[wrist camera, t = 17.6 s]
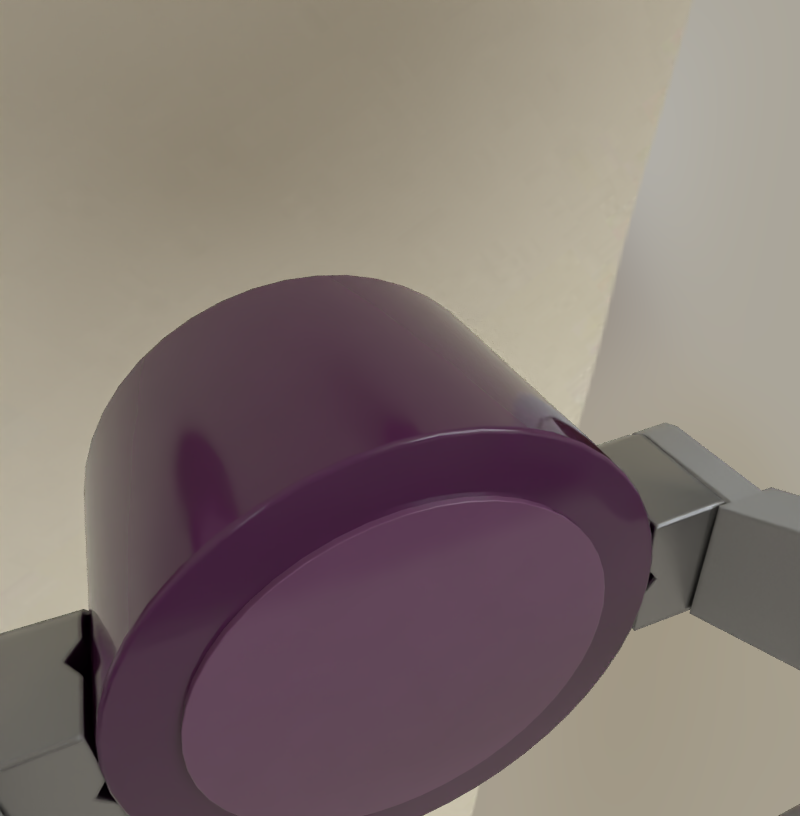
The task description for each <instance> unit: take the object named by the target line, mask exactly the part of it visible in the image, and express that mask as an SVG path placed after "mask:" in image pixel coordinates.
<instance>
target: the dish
mask: <svg viewBox="0 0 800 816" xmlns="http://www.w3.org/2000/svg"><path fill="white" fill-rule="evenodd" d="M84 511H85V535H86V558H87V582H88V606H89V629H90V653H91V677H92V700H93V724H94V741H95V748H96V755H97V760H98V763H99V768H100V771H101V773H102V776H103V778H104V780H105V784H106V787H107V789H108V791H109V792H110V794H111V795H112V796H113V798H114V799H115V801H116V802H117V803H118V805H119V806H120V807H121V809H122V810H123V812H124V813H125V814H126V815H127V816H423V815H425V814H427V813H429V812H431V811H433V810H435V809H437V808H439V807H441V806H443V805H445V804H447V803H449V802H451V801H453V800H454V799H456V798H458V797H460V796H461V795H463V794H465V793H467V792H468V791H470V790H472V789H474V788H475V787H477V786H479V785H480V784H482V783H483V782H484V781H486V780H488V779H489V778H491V777H492V776H494V775H495V774H497V773H499V772H500V771H501V770H503V769H504V768H506V767H507V766H508V765H509V764H511V763H512V762H514V761H515V760H516V759H518V758H519V757H520V756H522V755H523V754H525V753H526V752H527V751H528V750H529V749H531V748H532V747H533V746H534V745H535V744H536V743H538V742H539V741H540V740H541V739H542V738H544V737H545V736H546V735H547V734H548V733H549V732H550V731H552V730H553V728H555V727H556V726H557V725H558V724H559V723H560V722H561V721H562V720H563V719H564V718H565V717H566V716H567V715H568V714H569V713H570V712H571V711H572V710H573V709H574V708H575V707H576V706H577V704H579V702H580V701H581V700H582V699H583V698H584V697H585V696H586V695H587V694H588V693H589V691H590V690H591V689H592V688H593V686H594V685H595V684H596V683H597V681H598V680H599V679H600V677H601V676H602V675H603V674H604V672H605V671H606V670H607V668H608V667H609V665H610V664H611V662H612V661H613V659H614V657H615V656H616V655H617V653H618V652H619V650H620V648H621V647H622V645H623V643H624V641H625V640H626V638H627V636H628V634H629V632H630V630H631V629H632V627H633V624H634V622H635V620H636V617H637V615H638V613H639V610H640V608H641V606H642V603H643V599H644V596H645V593H646V589H647V586H648V582H649V577H650V570H651V564H652V532H651V527H650V522H649V517H648V513H647V510H646V508H645V506H644V503H643V501H642V499H641V496H640V494H639V492H638V489H637V488H636V487H635V485H634V484H633V483H632V481H631V480H630V478H629V477H628V476H627V474H626V473H625V471H624V470H623V469H621V468H620V467H619V466H618V465H617V464H616V463H615V462H614V461H613V460H612V459H611V458H609V457H608V456H607V455H606V454H605V453H604V452H603V451H602V450H601V449H600V448H599V447H597V446H596V445H595V444H594V443H593V442H592V441H591V440H590V439H589V438H588V437H587V436H586V435H584V434H583V433H582V432H581V431H580V430H579V429H578V428H577V427H576V426H575V425H574V424H572V423H571V422H570V421H569V420H568V419H567V418H566V417H565V416H564V415H563V414H562V413H560V412H559V411H558V410H557V409H556V408H555V407H554V406H553V405H552V404H551V403H550V402H548V401H547V400H546V399H545V398H544V397H543V396H542V395H541V394H540V393H539V392H538V391H537V390H535V389H534V388H533V387H532V386H531V385H530V384H529V383H528V382H527V381H526V380H525V379H523V378H522V377H521V376H520V375H519V374H518V373H517V372H516V371H515V370H514V369H513V368H511V367H510V366H509V365H508V364H507V363H506V362H505V361H504V360H503V359H502V358H501V357H500V356H498V355H497V354H496V353H495V352H494V351H493V350H492V349H491V348H490V347H489V346H488V345H486V344H485V343H484V342H483V341H482V340H481V339H480V338H479V337H478V336H477V335H476V334H474V333H473V332H472V331H471V330H470V329H469V328H468V327H467V326H466V325H465V324H464V323H462V322H461V321H460V320H459V319H458V318H457V317H456V316H455V315H453V314H452V313H451V312H450V311H449V310H448V309H446V308H445V307H443V306H442V305H440V304H438V303H437V302H435V301H434V300H432V299H431V298H429V297H427V296H425V295H423V294H421V293H418V292H416V291H414V290H412V289H409V288H407V287H405V286H402V285H398V284H394V283H390V282H387V281H383V280H379V279H374V278H366V277H358V276H350V275H328V276H310V277H303V278H296V279H289V280H283V281H279V282H276V283H272V284H268V285H264V286H261V287H257V288H253V289H250V290H248V291H246V292H243V293H241V294H238V295H236V296H233V297H231V298H228V299H226V300H223V301H221V302H219V303H217V304H215V305H214V306H212V307H210V308H208V309H206V310H205V311H203V312H201V313H199V314H197V315H196V316H194V317H192V318H190V319H189V320H188V321H186V322H185V323H184V324H182V325H181V326H179V327H178V328H177V329H175V330H174V331H173V332H171V333H170V334H168V335H167V336H166V337H164V338H163V339H162V340H161V341H160V342H159V343H158V344H157V345H156V346H155V347H154V348H153V349H151V350H150V351H149V352H148V353H147V354H146V355H145V356H144V357H143V358H142V359H141V360H140V361H139V362H138V363H137V364H136V366H135V367H134V368H133V369H132V370H131V372H130V373H129V374H128V375H127V377H126V378H125V379H124V380H123V382H122V383H121V384H120V385H119V387H118V388H117V390H116V392H115V393H114V395H113V397H112V398H111V400H110V402H109V403H108V405H107V406H106V408H105V410H104V411H103V413H102V416H101V418H100V421H99V423H98V425H97V428H96V430H95V433H94V435H93V438H92V440H91V444H90V449H89V453H88V457H87V461H86V466H85V480H84Z"/></svg>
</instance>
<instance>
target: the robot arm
mask: <svg viewBox="0 0 800 816" xmlns="http://www.w3.org/2000/svg"><path fill="white" fill-rule="evenodd" d="M596 446H597V447H599V448H600V449H601V450H602V451H603V452H604V453H605V454H606V455H607V456H608V457H609V458H611V459H612V460H613V461H614V462H615V463H616V464H617V465H618V466H619V467H620V468H621V469H623V470H624V471H625V473H626V474H627V476H628V477H629V478H630V480H631V481H632V483H633V484H634V485H635V487H636V488H637V489H638V492H639V494H640V496H641V499H642V501H643V503H644V506H645V508H646V510H647V513H648V517H649V522H650V527H651V532H652V564H651V570H650V577H649V582H648V586H647V589H646V593H645V596H644V599H643V603H642V606H641V608H640V610H639V613H638V615H637V617H636V620H635V622H634V624H633V627H632V629H633V630H634V631H635V630H638V629H640V628H643V627H646V626H648V625H651V624H653V623H656V622H659V621H661V620H664V619H667V618H669V617H672V616H674V615H677V614H680V613H682V612H685V611H687V610H690V609H691V610H690V614H692V615H694V616H696V617H698V618H700V619H702V620H704V621H705V622H707V623H709V624H711V625H713V626H715V627H717V628H719V629H721V630H723V631H725V632H727V633H729V634H731V635H733V636H735V637H736V638H738V639H740V640H742V641H744V642H746V643H748V644H750V645H752V646H754V647H756V648H758V649H760V650H762V651H764V652H766V653H767V654H769V655H771V656H773V657H775V658H777V659H779V660H781V661H783V662H785V663H787V664H789V665H791V666H793V667H795V668H796V669H798V670H800V496H799V495H796V494H792V493H789V492H786V491H782V490H779V489H775V488H772V487H771V488H768V489H765V490H760V489H759V488H758V487H756V486H755V485H754V484H752V483H751V482H750V481H748V480H747V479H746V478H745V477H743V476H742V475H741V474H739V473H738V472H737V471H735V470H734V469H733V468H731V467H730V466H729V465H727V464H726V463H725V462H723V461H722V460H720V459H719V458H718V457H717V456H716V455H714V454H713V453H712V452H710V451H709V450H708V449H706V448H705V447H704V446H702V445H701V444H700V443H698V442H697V441H696V440H695V439H693V438H692V437H691V436H689V435H688V434H687V433H685V432H684V431H683V430H681V429H680V428H679V427H677V426H675V425H672V424H668V423H662V424H660V425H657V426H654V427H651V428H647V429H644V430H642V431H638V432H635V433H633V434H632V435H627V436H624V437H621V438H618V439H614V440H611V441H608V442H605V443H603V444H599V445H596ZM0 816H127V815H126V814H125V813H124V812H123V810H122V809H121V807H120V806H119V805H118V803H117V802H116V801H115V799H114V798H113V796H112V795H111V794H110V792H109V791H108V789H107V787H106V784H105V780H104V778H103V776H102V773H101V771H100V768H99V763H98V760H97V755H96V748H95V741H94V724H93V700H92V677H91V653H90V629H89V611H88V610H85V609H82V610H79V611H75V612H72V613H69V614H65V615H62V616H58V617H55V618H52V619H48V620H45V621H41V622H38V623H35V624H31V625H28V626H24V627H21V628H18V629H14V630H11V631H7V632H4V633H1V634H0ZM779 816H800V804H799V805H797V806H795V807H793V808H791V809H790V810H788V811H786V812H784V813H782V814H780V815H779Z"/></svg>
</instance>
